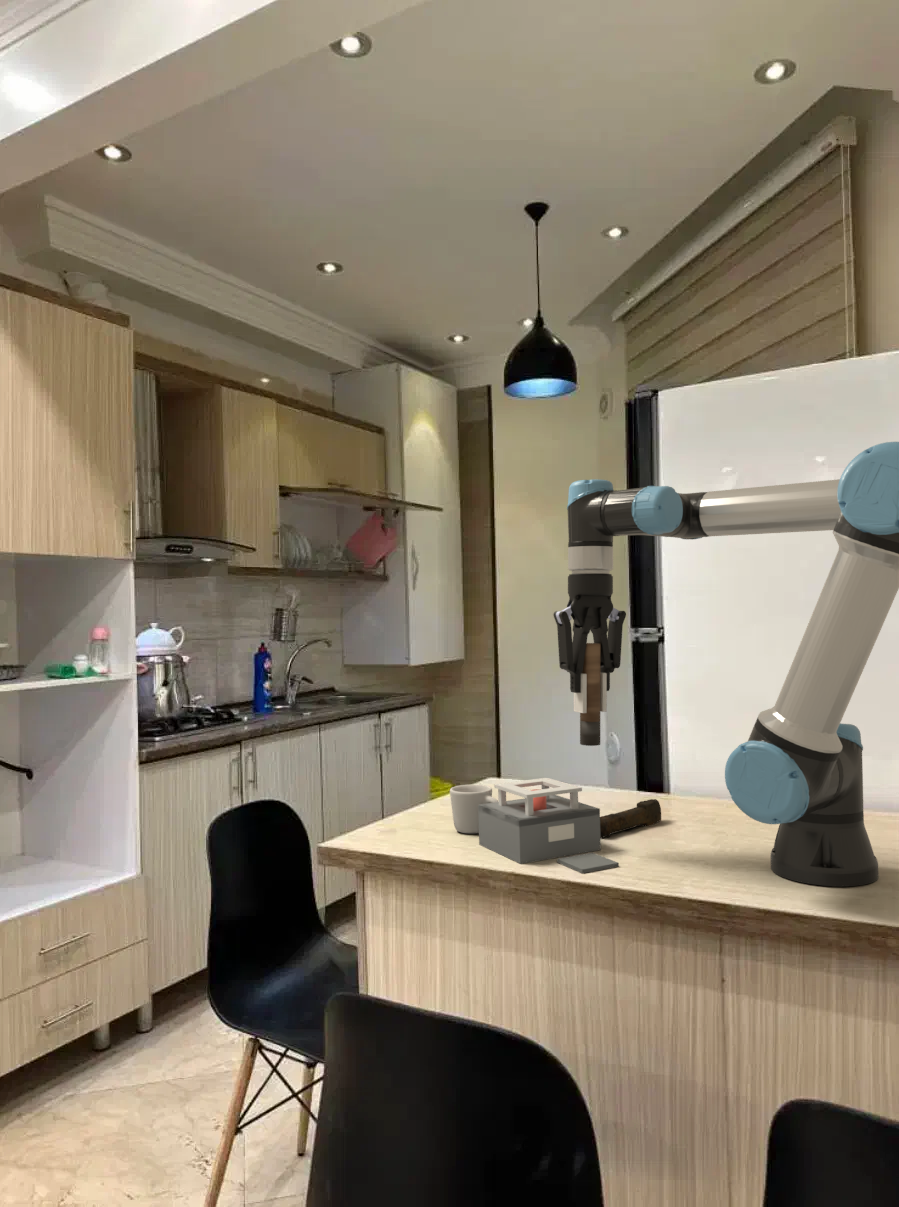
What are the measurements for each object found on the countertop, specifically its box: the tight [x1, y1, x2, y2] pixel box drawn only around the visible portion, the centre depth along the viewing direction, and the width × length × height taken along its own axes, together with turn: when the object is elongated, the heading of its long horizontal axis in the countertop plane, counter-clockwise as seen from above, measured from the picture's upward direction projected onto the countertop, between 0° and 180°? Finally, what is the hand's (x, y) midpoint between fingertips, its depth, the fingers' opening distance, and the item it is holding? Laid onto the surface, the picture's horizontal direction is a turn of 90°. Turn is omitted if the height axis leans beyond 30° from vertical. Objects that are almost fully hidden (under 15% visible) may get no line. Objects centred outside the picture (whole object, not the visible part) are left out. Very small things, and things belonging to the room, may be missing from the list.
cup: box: [449, 784, 499, 835], centre depth 164 cm, size 11×8×8 cm
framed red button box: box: [478, 777, 602, 865], centre depth 152 cm, size 14×16×11 cm
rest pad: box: [556, 852, 620, 874], centre depth 141 cm, size 7×7×1 cm
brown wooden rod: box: [579, 642, 601, 747], centre depth 148 cm, size 3×3×17 cm
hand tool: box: [600, 798, 662, 840], centre depth 163 cm, size 19×4×5 cm, turn 127°
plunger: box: [530, 788, 547, 811], centre depth 152 cm, size 3×3×7 cm
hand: (590, 711), depth 148 cm, fingers closed on brown wooden rod, 3 cm apart
